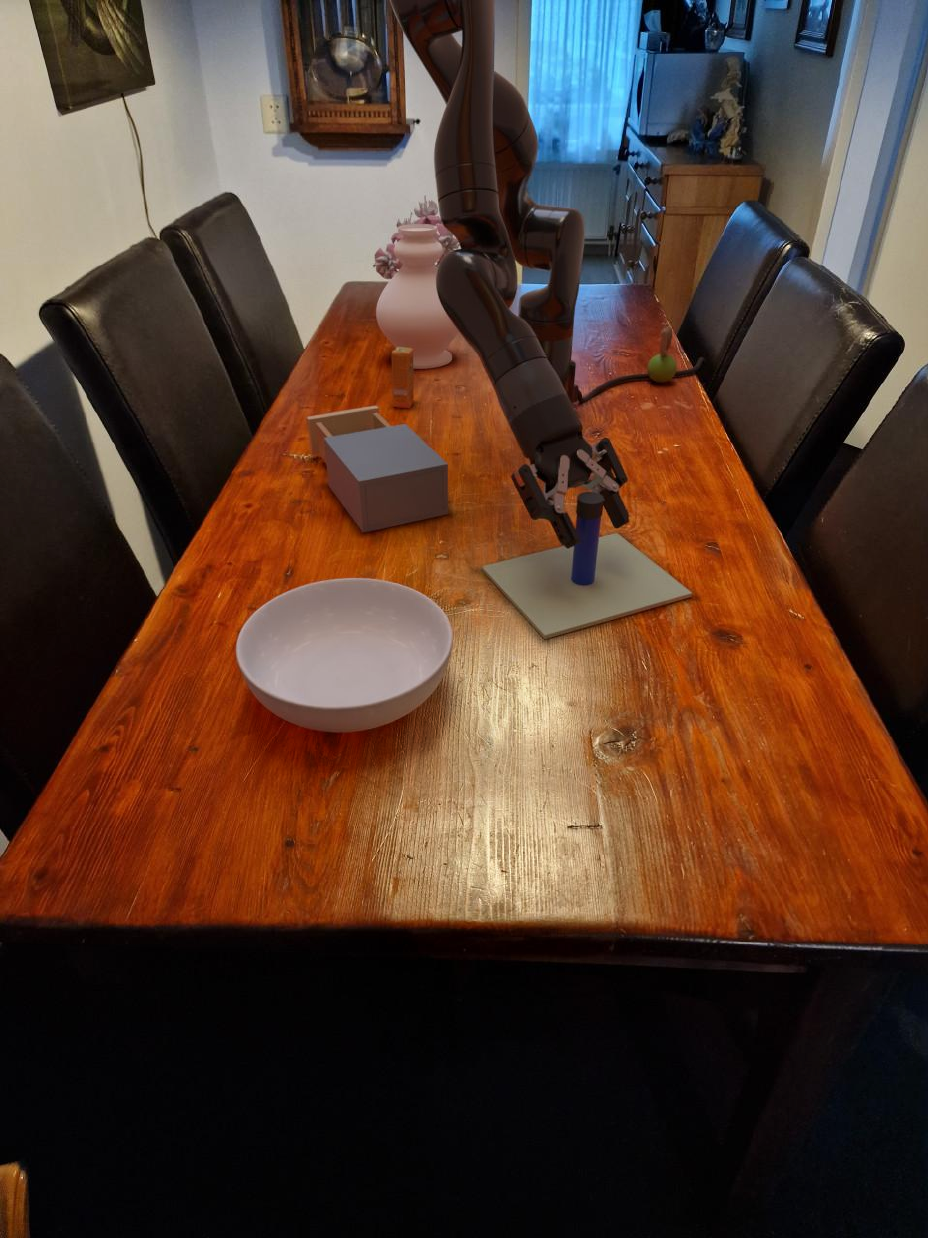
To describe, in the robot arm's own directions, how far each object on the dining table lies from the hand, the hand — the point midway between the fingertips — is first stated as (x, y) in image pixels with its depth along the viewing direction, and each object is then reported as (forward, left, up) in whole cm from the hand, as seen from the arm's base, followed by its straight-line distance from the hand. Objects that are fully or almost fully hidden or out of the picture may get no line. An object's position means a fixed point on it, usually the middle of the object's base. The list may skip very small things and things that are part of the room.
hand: (598, 535), depth 94 cm
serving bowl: (+32, +6, -7) cm, 34 cm away
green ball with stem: (-51, -56, -7) cm, 76 cm away
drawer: (+14, -46, -6) cm, 49 cm away
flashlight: (+1, -1, -7) cm, 7 cm away
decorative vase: (-15, -89, -7) cm, 91 cm away
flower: (-27, -121, -7) cm, 125 cm away
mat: (0, -1, -7) cm, 8 cm away
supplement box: (-2, -66, -7) cm, 67 cm away
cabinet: (+14, -32, -7) cm, 36 cm away
